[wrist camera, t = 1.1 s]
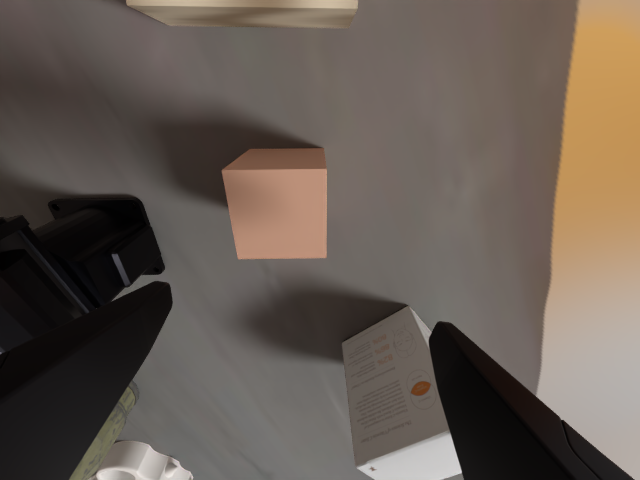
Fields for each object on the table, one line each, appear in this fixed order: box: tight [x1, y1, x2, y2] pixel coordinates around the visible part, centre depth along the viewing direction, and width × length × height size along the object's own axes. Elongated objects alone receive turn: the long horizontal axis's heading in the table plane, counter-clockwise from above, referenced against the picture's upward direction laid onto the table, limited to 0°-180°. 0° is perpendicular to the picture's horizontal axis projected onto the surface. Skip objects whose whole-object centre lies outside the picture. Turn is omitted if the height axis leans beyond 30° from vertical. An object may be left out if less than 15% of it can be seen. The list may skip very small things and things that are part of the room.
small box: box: [342, 306, 462, 480], centre depth 22 cm, size 8×6×10 cm
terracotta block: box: [222, 148, 327, 259], centre depth 16 cm, size 5×5×6 cm
